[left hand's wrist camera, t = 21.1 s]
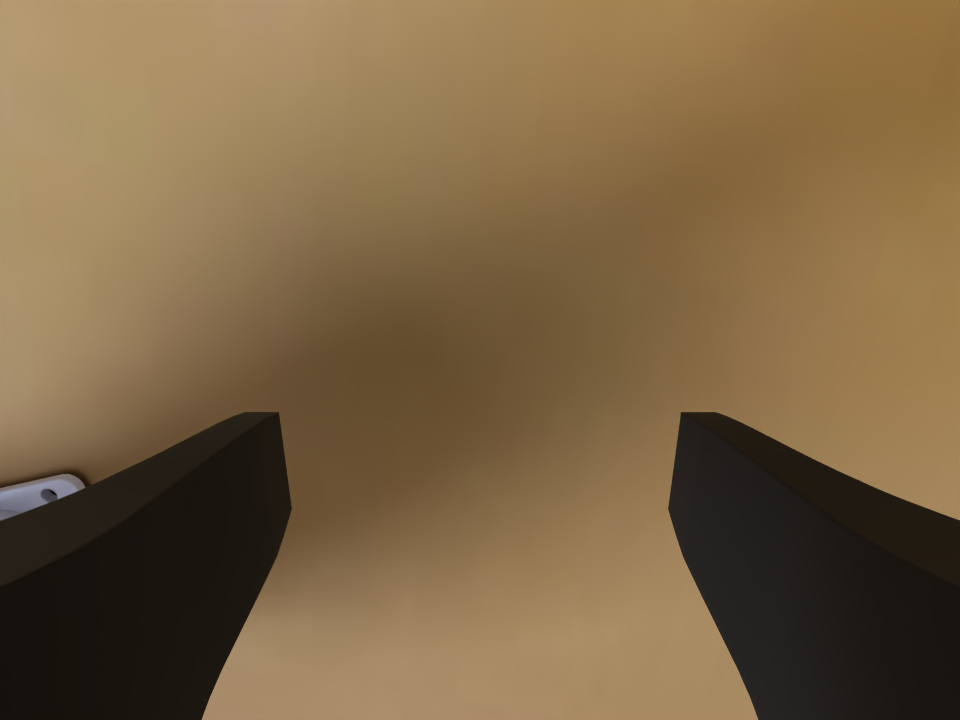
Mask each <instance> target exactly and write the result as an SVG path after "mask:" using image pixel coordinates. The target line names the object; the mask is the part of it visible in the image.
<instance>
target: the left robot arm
mask: <svg viewBox="0 0 960 720" xmlns="http://www.w3.org/2000/svg"><path fill="white" fill-rule="evenodd" d="M49 489H50V490H52V491H54V492H55V493H56V494H57V496H56V495H54V494H52V493H51V492H50V490H49ZM291 510H292V507H291V500H290V492H289V485H288V477H287V470H286V462H285V455H284V447H283V440H282V432H281V425H280V417H279V412H244V413H241V414H238V415H235V416H233V417H231V418H228V419H226V420H224V421H222V422H220V423H218V424H215V425H213V426H211V427H209V428H207V429H205V430H203V431H201V432H200V433H198V434H196V435H194V436H192V437H190V438H188V439H186V440H184V441H182V442H180V443H178V444H176V445H174V446H172V447H170V448H168V449H166V450H164V451H162V452H160V453H158V454H156V455H154V456H152V457H150V458H148V459H146V460H144V461H142V462H140V463H138V464H136V465H134V466H131V467H129V468H127V469H125V470H123V471H121V472H119V473H117V474H114V475H112V476H110V477H108V478H106V479H104V480H102V481H100V482H97V483H95V484H93V485H91V486H88V487H86V488H85V486H84V484H83V483H82V481H81V480H80V479H79V478H77V477H76V476H73V475H70V474H61V475H57V476H52V477H48V478H43V479H39V480H34V481H30V482H25V483H21V484H16V485H12V486H7V487H3V488H0V720H202V717H203V714H204V711H205V709H206V706H207V703H208V701H209V698H210V696H211V693H212V691H213V689H214V686H215V684H216V682H217V680H218V677H219V675H220V673H221V671H222V668H223V666H224V664H225V662H226V660H227V658H228V656H229V654H230V652H231V650H232V648H233V646H234V644H235V642H236V640H237V638H238V636H239V634H240V632H241V630H242V628H243V626H244V624H245V622H246V620H247V618H248V615H249V613H250V611H251V609H252V607H253V605H254V603H255V601H256V599H257V597H258V595H259V593H260V591H261V589H262V587H263V585H264V583H265V581H266V578H267V576H268V574H269V572H270V570H271V568H272V566H273V564H274V562H275V559H276V557H277V554H278V551H279V548H280V545H281V542H282V539H283V537H284V533H285V530H286V527H287V523H288V520H289V517H290V513H291ZM668 510H669V513H670V517H671V520H672V523H673V527H674V530H675V533H676V537H677V539H678V542H679V545H680V548H681V551H682V554H683V557H684V559H685V562H686V564H687V566H688V568H689V570H690V572H691V574H692V576H693V578H694V581H695V583H696V585H697V587H698V589H699V591H700V593H701V595H702V597H703V599H704V601H705V603H706V605H707V607H708V609H709V611H710V613H711V615H712V618H713V620H714V622H715V624H716V626H717V628H718V630H719V632H720V634H721V636H722V638H723V640H724V642H725V644H726V646H727V648H728V650H729V652H730V654H731V656H732V658H733V660H734V662H735V664H736V666H737V668H738V671H739V673H740V675H741V677H742V680H743V682H744V684H745V686H746V689H747V691H748V693H749V696H750V698H751V701H752V703H753V706H754V709H755V711H756V714H757V717H758V720H960V520H957V519H954V518H951V517H948V516H946V515H943V514H940V513H938V512H935V511H932V510H930V509H927V508H925V507H922V506H919V505H917V504H914V503H911V502H909V501H906V500H903V499H901V498H898V497H896V496H893V495H891V494H889V493H886V492H884V491H881V490H879V489H877V488H874V487H872V486H870V485H868V484H865V483H863V482H861V481H859V480H857V479H854V478H852V477H850V476H848V475H846V474H843V473H841V472H839V471H837V470H835V469H833V468H831V467H828V466H826V465H824V464H822V463H820V462H818V461H816V460H814V459H812V458H810V457H808V456H806V455H804V454H802V453H800V452H798V451H796V450H794V449H792V448H790V447H788V446H786V445H784V444H782V443H780V442H778V441H776V440H775V439H773V438H771V437H769V436H767V435H765V434H763V433H761V432H759V431H757V430H755V429H753V428H751V427H749V426H747V425H745V424H743V423H741V422H739V421H736V420H734V419H732V418H730V417H727V416H725V415H722V414H719V413H716V412H681V417H680V425H679V432H678V440H677V447H676V455H675V462H674V470H673V477H672V485H671V492H670V500H669V507H668Z"/></svg>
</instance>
